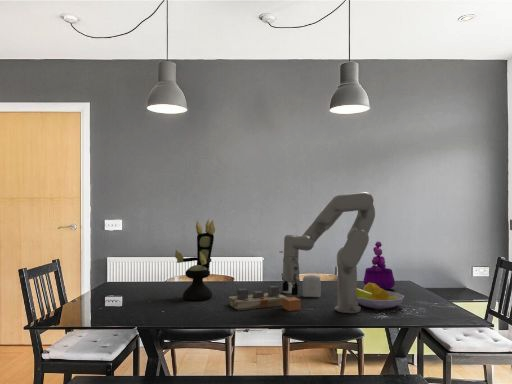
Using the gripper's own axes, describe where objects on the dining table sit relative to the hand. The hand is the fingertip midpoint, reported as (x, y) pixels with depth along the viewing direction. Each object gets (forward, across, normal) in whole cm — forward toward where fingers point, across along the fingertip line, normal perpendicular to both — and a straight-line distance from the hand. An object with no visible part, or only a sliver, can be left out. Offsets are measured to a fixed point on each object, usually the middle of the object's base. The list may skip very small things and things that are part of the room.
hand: (289, 293), depth 205 cm
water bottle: (+8, +35, -17) cm, 40 cm away
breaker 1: (+6, +14, +20) cm, 25 cm away
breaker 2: (+7, +14, +11) cm, 20 cm away
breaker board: (+9, +14, +11) cm, 20 cm away
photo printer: (+8, +19, -25) cm, 33 cm away
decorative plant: (+6, +19, -74) cm, 77 cm away
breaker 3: (+5, +14, +2) cm, 15 cm away
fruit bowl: (+7, -13, -44) cm, 46 cm away
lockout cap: (+8, -1, -1) cm, 8 cm away
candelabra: (+10, +44, +35) cm, 57 cm away
